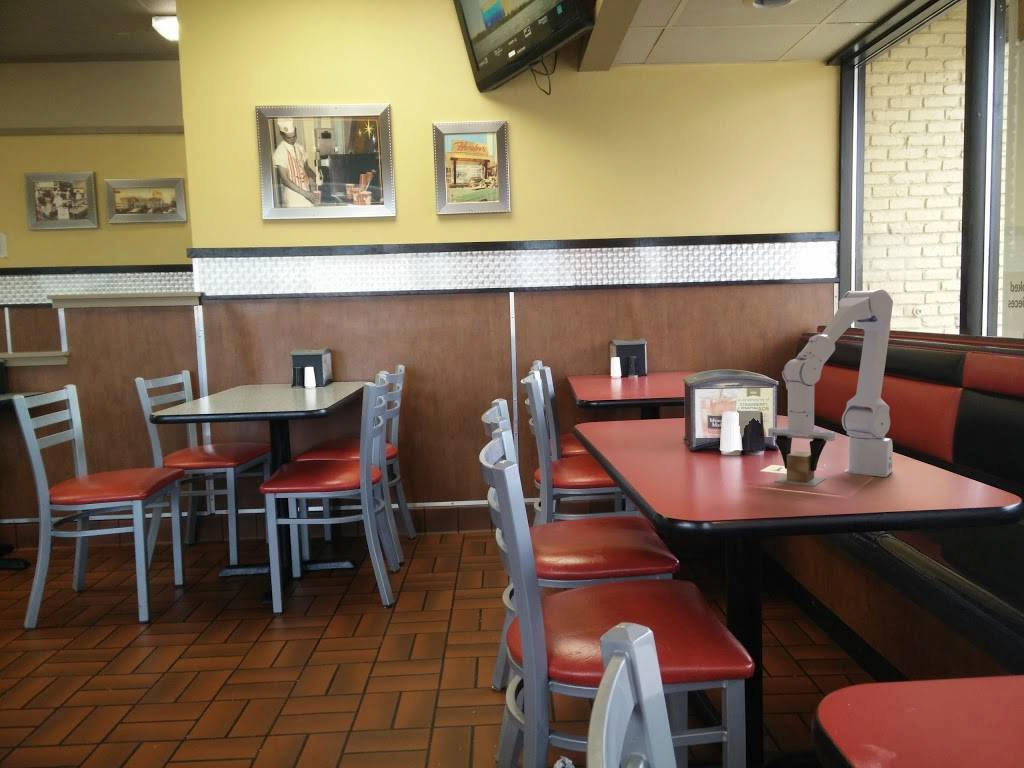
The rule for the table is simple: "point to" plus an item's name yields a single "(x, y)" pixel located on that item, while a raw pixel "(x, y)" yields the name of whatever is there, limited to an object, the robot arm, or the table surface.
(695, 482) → the table surface
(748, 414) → the grey upright block
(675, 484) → the table surface
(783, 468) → the tile
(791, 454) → the walnut block
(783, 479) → the grey mat
